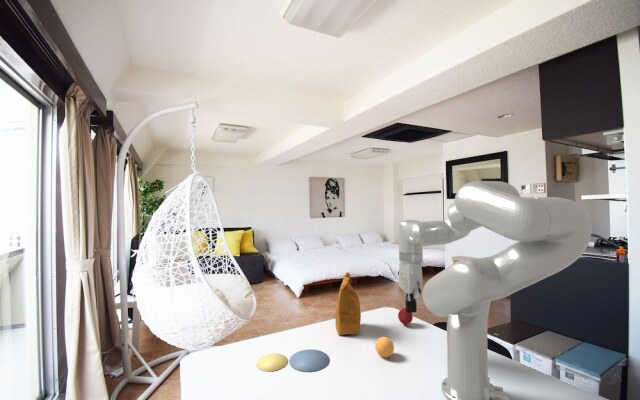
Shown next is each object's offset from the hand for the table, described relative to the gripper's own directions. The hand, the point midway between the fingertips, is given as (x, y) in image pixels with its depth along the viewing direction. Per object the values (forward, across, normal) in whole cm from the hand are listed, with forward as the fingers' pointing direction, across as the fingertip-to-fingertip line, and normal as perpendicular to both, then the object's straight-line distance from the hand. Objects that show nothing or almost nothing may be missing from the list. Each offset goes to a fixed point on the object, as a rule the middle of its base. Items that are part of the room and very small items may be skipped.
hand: (410, 311), depth 97 cm
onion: (+15, -21, +6) cm, 27 cm away
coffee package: (+15, -20, -18) cm, 31 cm away
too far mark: (+14, +1, -46) cm, 48 cm away
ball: (+11, +1, -9) cm, 15 cm away
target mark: (+14, +1, -34) cm, 37 cm away
